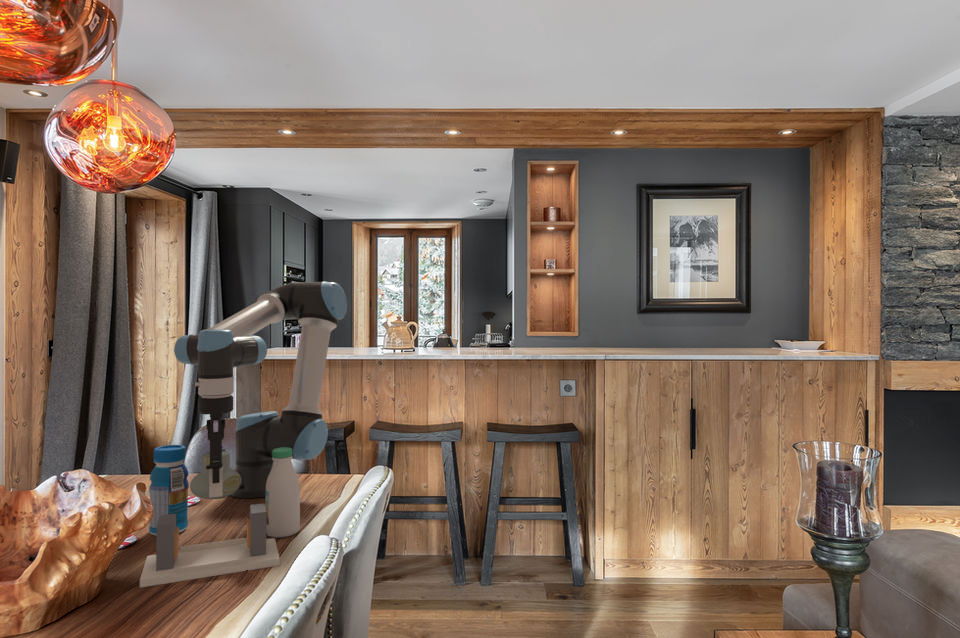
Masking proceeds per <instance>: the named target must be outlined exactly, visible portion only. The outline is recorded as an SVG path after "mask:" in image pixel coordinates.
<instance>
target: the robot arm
mask: <svg viewBox="0 0 960 638" xmlns="http://www.w3.org/2000/svg"><path fill="white" fill-rule="evenodd" d="M347 310H348V300H347V296H346V293H345V291H344V289H343V288H342V286H341V285H340V284H338V283H337V282H333V281H331V282H330V281H302V282H301V281H300V282H299V281H297V282H295V281H294V282H293V281H292V282H289V283H285V284H283V285H281V286H278V287H275V288H274V289H271V290H269V291H267V292H265V293H263V294H262V295H260V296H259V297H258V298H257V300H256V302H254V303H252V304H251V305H249V306H247V307H244V308H243V309H241V310H240V311H237V312H236V313H234V314H233V315H231V316H229V317H227V318H226V319H223V320H222V321H220V322H218V323H217V324H214V325H213V326H210V327H209V328H207V329H202V330H200V331H199V332H198V334H185V335H181V336H180V337H178V338H177V340H176V342H175V343H174V347H173V352H174V356H175V358H176V360H177V361H178V362H179V363H181V364H184V365H191V366H196V365H197V371H198V372H197V377H198V378H197V379H198V380H197V381H196V382H195V383H194V386H195V387H197V388H198V389H197V390H198V391H197V395H199V397H198V398H197V412H198V413H199V414H201V415H209V417H210V419H206V430H207V441H208V442H209V452H210V464H209V466H206V469H209V498H211V497H220V496H223V467H222V466H223V463H222V451H226V449H225V448H224V449H223V445H222V444H223V440H224V438H225V429H226V418H222V417H223V414H228V413H231V412H233V410H234V396H233V395H232V394H233V393H234V389H235V387H234V384H235V383H234V379H235V378H234V368H240V367H246V366H251V367H252V366H254V365H257V364H260V363H262V362H263V361H265V359H266V357H267V354H268V346H267V344H266V342H265V340H264V338H262V337H261V336H259V335H258V336H257V335H255V334H256V333H258V332H259V331H261V330H263V329H264V328H265V327H267V326H268V325H269V326H270V325H271V324H278V323H280V322H282V321H284V320H292V319H293V320H297V322H298V324H299V325H300V327H301V333H300V336H299V337H300V338H299V343H298V350H297V355H296V361H295V366H294V372H293V377H292V383H291V388H290V394H289V395H290V396H289V399H288V400H289V401H288V404H287V406H286V407H284V408H283V409H282V410H281V416H279V412H278V411H275V410H273V411H271V410H270V411H261V412H254V413H249V414H245V415H241V416H239V417H238V418H237V419H236V424H235V425H236V426H235V467H234V469H233V470H234V471H236V472H237V473H239V475H240V476H241V484H240V486H239V488H238V489H237V490H236V491H235V492H234V493H232V494H231V495H229V496H230V497H232V498H238V499H256V498H257V499H258V498H266V482H267V478H268V476H269V474H270V471H271V469H272V466H273V460H272V450H274V449H276V448H281V447H288V448H291V449H292V458H291V460H297V461H302V460H307V461H308V460H313V459H316V458H317V457H319V455H320V454H321V453H322V452H323V450H324V448H325V446H326V443H327V442H328V441H327V440H328V436H329V429H328V424H327V422H326V420H323V417H324V416H323V413H322V411H321V410H320V409H319V407H320V402H321V401H320V400H321V394H322V388H323V381H324V376H325V370H326V364H327V363H326V362H327V356H328V352H329V351H328V350H329V344H330V338H331V333H332V331H333V330H335V329H336V328H338V327H337V325H338V321H341V320H343V319H344V318H345V316H346V315H347V312H348V311H347ZM213 461H219V462H213Z"/></svg>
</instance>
